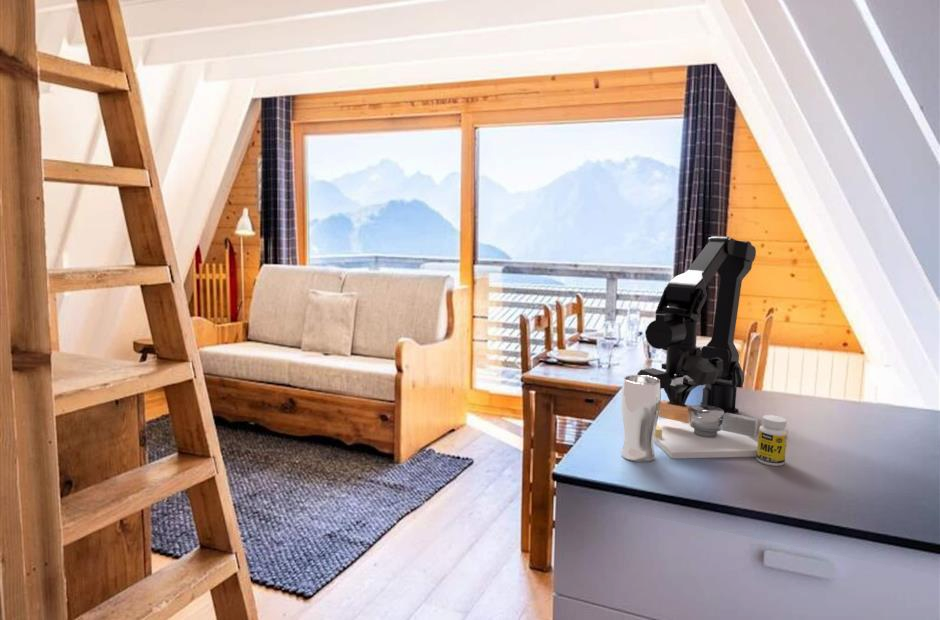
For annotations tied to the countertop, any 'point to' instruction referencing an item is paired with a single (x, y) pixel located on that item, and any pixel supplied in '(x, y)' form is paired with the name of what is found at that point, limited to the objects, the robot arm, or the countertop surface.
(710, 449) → the coupling board
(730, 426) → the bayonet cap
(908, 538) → the countertop surface
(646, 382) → the beer glass
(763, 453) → the supplement bottle
